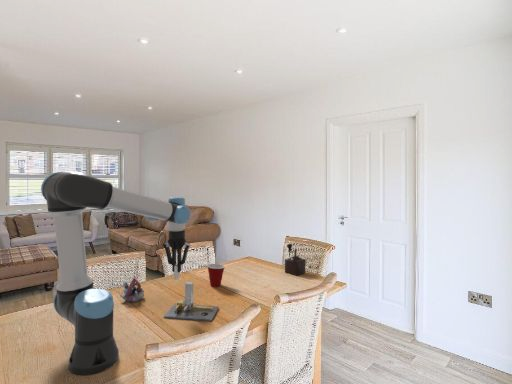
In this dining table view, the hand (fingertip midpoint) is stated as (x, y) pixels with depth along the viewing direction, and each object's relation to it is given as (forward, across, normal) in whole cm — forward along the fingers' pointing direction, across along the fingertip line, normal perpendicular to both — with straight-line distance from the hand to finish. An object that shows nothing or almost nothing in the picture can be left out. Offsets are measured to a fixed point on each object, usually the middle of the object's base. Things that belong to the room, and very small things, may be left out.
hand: (176, 278), depth 149 cm
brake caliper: (+15, +26, -8) cm, 31 cm away
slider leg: (+14, -6, +2) cm, 15 cm away
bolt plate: (+15, -9, +3) cm, 18 cm away
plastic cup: (+16, -11, -35) cm, 40 cm away
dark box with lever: (+16, -56, -70) cm, 91 cm away
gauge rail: (+15, -9, +3) cm, 18 cm away
